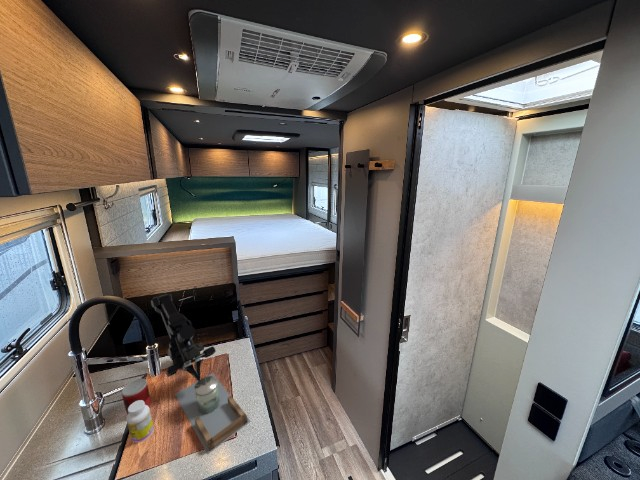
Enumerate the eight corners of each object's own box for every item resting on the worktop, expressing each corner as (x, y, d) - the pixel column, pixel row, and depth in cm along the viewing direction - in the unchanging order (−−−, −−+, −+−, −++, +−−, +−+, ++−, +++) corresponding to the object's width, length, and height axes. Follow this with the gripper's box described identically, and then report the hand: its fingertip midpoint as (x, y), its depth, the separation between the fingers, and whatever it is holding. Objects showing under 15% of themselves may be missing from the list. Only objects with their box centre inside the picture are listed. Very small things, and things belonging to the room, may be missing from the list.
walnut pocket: (195, 425, 92) (194, 419, 91) (231, 401, 102) (230, 395, 101) (209, 451, 84) (208, 444, 83) (247, 422, 93) (247, 415, 92)
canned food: (156, 401, 103) (151, 378, 100) (140, 419, 95) (135, 396, 92) (138, 399, 103) (133, 377, 100) (122, 417, 96) (115, 394, 93)
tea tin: (193, 414, 96) (190, 393, 94) (203, 396, 104) (200, 376, 102) (215, 414, 96) (212, 393, 94) (223, 395, 104) (220, 376, 102)
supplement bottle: (129, 434, 89) (122, 406, 86) (151, 421, 94) (144, 394, 91) (134, 448, 85) (126, 418, 82) (156, 433, 90) (150, 405, 86)
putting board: (174, 395, 105) (174, 394, 105) (212, 373, 116) (212, 373, 116) (207, 455, 83) (207, 454, 82) (250, 422, 94) (250, 421, 94)
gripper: (163, 351, 97) (177, 391, 92) (211, 330, 110) (225, 364, 105) (161, 358, 104) (173, 395, 100) (206, 337, 117) (219, 369, 113)
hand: (199, 380), depth 104 cm, fingers closed
